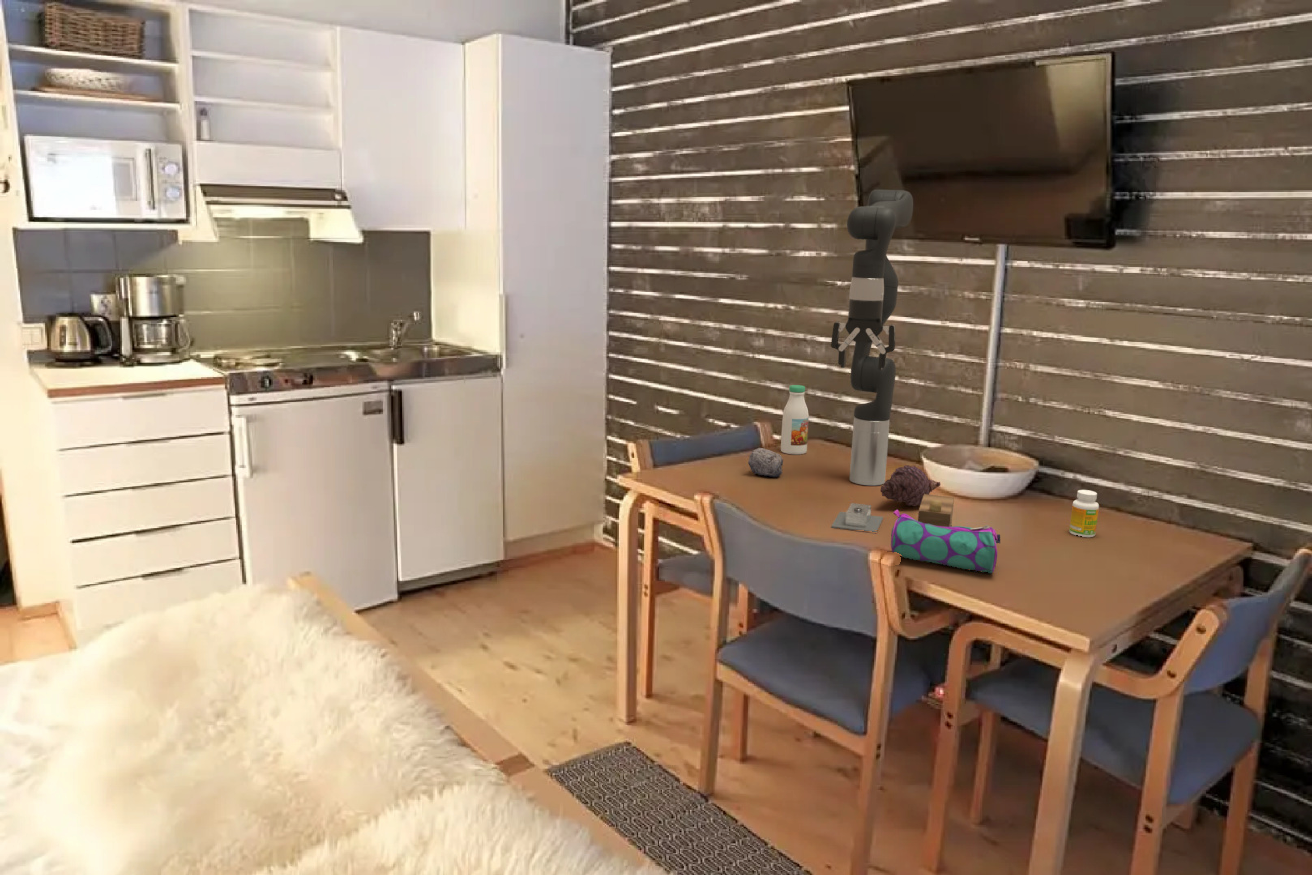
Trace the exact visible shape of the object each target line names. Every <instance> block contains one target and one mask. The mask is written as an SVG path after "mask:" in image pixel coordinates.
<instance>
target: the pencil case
mask: <svg viewBox="0 0 1312 875" xmlns="http://www.w3.org/2000/svg"><path fill="white" fill-rule="evenodd" d="M893 515H895V516H896V517H897V519H896V520H895V521H894V525H893V526H892V528H891V532H890V533H891V534H890V548H891V552H892V553H893V552H897V553H899V554H901V555H902V557H901V558H903V557H904V559H907V558H909V560H912V559H913V560H914V561H916V560H920V561H919V562H924V561H926V562H925V563H930V562H932V563H931V564H937V565H938V564H939V565H942V564H943V565H942V566H946V565H947V566H948V567H951V566H952V568H955V567H957V568H956V569H960V568H962V570H965V569H970V570H976V571H975V572H977V571H982V572H981V573H984V572H988V573H987V574H993V573H994V572H995V568H996V565H997V561H998V560H997V559H998V548H997V547H998V546H997V544H1001V534H997V532H996V529H994V528H993V527H991V526H989V525H983V526H980V527H974V528H973V527H969V526H963V525H962V526H961V525H955V526H952V527H941V526H935V525H931V524H926V523H922V522H919V521H918V519H914V518H913V517H912V516H910V515H909V514H907V513H901V514H900V512H899V509H896V510H894V511H893ZM970 570H969V571H970Z"/></svg>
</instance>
